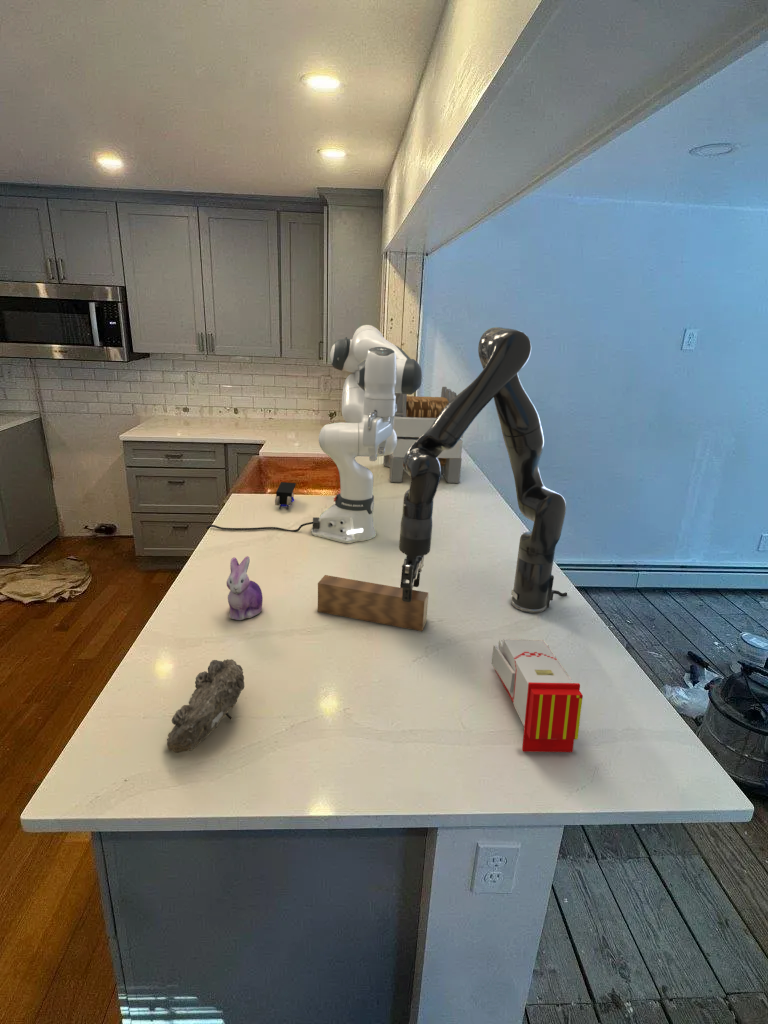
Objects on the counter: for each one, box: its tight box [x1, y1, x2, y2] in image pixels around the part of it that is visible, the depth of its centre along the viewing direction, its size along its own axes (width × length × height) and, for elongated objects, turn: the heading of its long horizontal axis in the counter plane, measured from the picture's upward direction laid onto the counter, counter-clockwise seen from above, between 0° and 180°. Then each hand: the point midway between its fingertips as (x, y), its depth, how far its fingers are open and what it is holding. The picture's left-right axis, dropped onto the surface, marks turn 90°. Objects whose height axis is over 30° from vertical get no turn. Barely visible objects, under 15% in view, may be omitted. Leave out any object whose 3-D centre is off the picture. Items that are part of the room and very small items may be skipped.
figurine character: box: [274, 481, 297, 510], centre depth 222 cm, size 7×8×15 cm
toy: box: [491, 638, 584, 753], centre depth 114 cm, size 12×13×30 cm
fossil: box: [166, 658, 245, 754], centre depth 106 cm, size 22×10×15 cm
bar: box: [317, 574, 429, 632], centre depth 144 cm, size 28×5×8 cm, turn 74°
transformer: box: [383, 386, 464, 484], centre depth 268 cm, size 34×33×41 cm
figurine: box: [226, 555, 264, 621], centre depth 142 cm, size 9×10×15 cm
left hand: (377, 457), depth 162 cm, fingers open, 8 cm apart
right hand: (410, 593), depth 140 cm, fingers open, 8 cm apart
